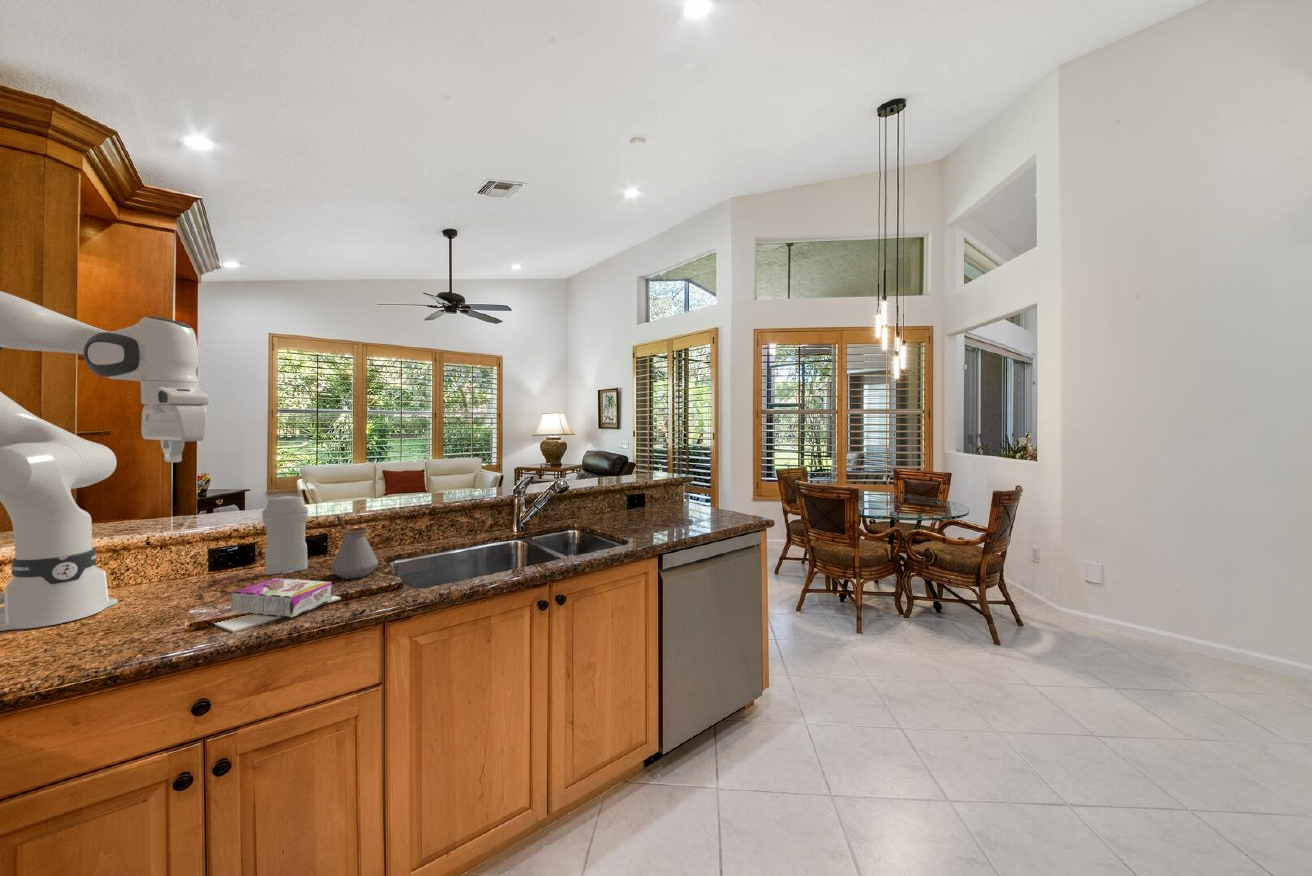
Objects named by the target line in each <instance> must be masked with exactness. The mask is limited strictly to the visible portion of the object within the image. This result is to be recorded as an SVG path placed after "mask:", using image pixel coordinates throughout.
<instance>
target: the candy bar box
mask: <svg viewBox="0 0 1312 876" xmlns="http://www.w3.org/2000/svg"><path fill="white" fill-rule="evenodd" d="M332 588H333V584H332V581H325V580H310V579H296V578H295V579H294V578H285V577H284V578H282V577H274V578H271V579H268V580H265V581H262V582H259V583H256V584H253V585H250V586H249V585H248V586H247V587H243V588H239V589H237V590H234V591H232V592H231V611H246V612H248V613H250V614H259V615H269V616H281V617H282V618H290V619H291V618H294V617H296V616H299V615H301V614H304V613H306V612H308V611H311V610H314V609H316V608H318V607H320V606H323V604H324V605H327V604H329V603H328V602H330V601H332V595H333V589H332ZM326 603H327V604H326ZM330 603H331V602H330Z"/></svg>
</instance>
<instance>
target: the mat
mask: <svg viewBox="0 0 1312 876" xmlns="http://www.w3.org/2000/svg"><path fill="white" fill-rule="evenodd" d="M340 600H342V597H340V596H338V595H337V596H336V595H334V596H332V601H330V602H328V603H326V604H323V605H327V604H330V603H333V602H336V601H340ZM323 605H322V606H323ZM281 618H283V617H281V616H269V615H259V614H250V615H246V616H241V617H238V618H233V619H229V620H225V621H221V622H217V623H214V624H215V625H214V626H216V627H218V628H220V629H224V630H227V631H229V632H231V633H236V632H237V633H238V632H240V631H243V630H247V629H249V628H252V627H255V626H259V625H263V624H265V623H269V622H271V621H275V620H278V619H281Z"/></svg>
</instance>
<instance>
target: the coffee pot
mask: <svg viewBox="0 0 1312 876" xmlns="http://www.w3.org/2000/svg"><path fill="white" fill-rule="evenodd" d="M335 518H336V519H337V520H335ZM333 521H334V522H335V523H336V522H338V523H339V526H340V527H341V528H342V530H341V534H343V541H342V542H341V544H340V547H339V549H338V551H337V554H336V556H335V558H334V561H333V563H332V564H331V567H330V569H331V571H332V573H334V574H335V575H337V576H338V577H339V578H340V577H341V579H344V578H345V579H349V578H351V579H357V578H358V577H359V578H362V577H365V576H366V577H367V576H368V575H371V573H372V572H373V571H374V570H375V569H376V568H377V566H378V564H379V560H378V558H377V557H376V554H375V552H374V551H373V549H372V547H371V545H370V543H369V541H368V539H367V537H366V534H367V532H368V531H369V528H368V527H352V528H351V527H350V528H347V525H346V523H345V522H344V521H343V517H342V516H339V515H336V516H335V517H334V518H333Z"/></svg>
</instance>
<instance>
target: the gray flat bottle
mask: <svg viewBox="0 0 1312 876" xmlns="http://www.w3.org/2000/svg"><path fill="white" fill-rule="evenodd" d="M261 513H262V514H261V515H262V523H263V525H265V537H266V539H265V540H266V547H265V550H264V563H265V564H264V565H265V566H264V567H265V571H264V572H265V576H274V575H286V574H289V573H290V574H291V573H295V572H300V571H305V570H308V545H307V542H306V523H307V522H306V521H307V520H308V517H309V507H308V506H306V505H305V504H304V501H303V497H302V496H290V495H289V496H288V495H284V496H283V495H282V496H279V497H276V498H270V499H268V501H267V505H266V508H264V509H263V510H262V511H261Z"/></svg>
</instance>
